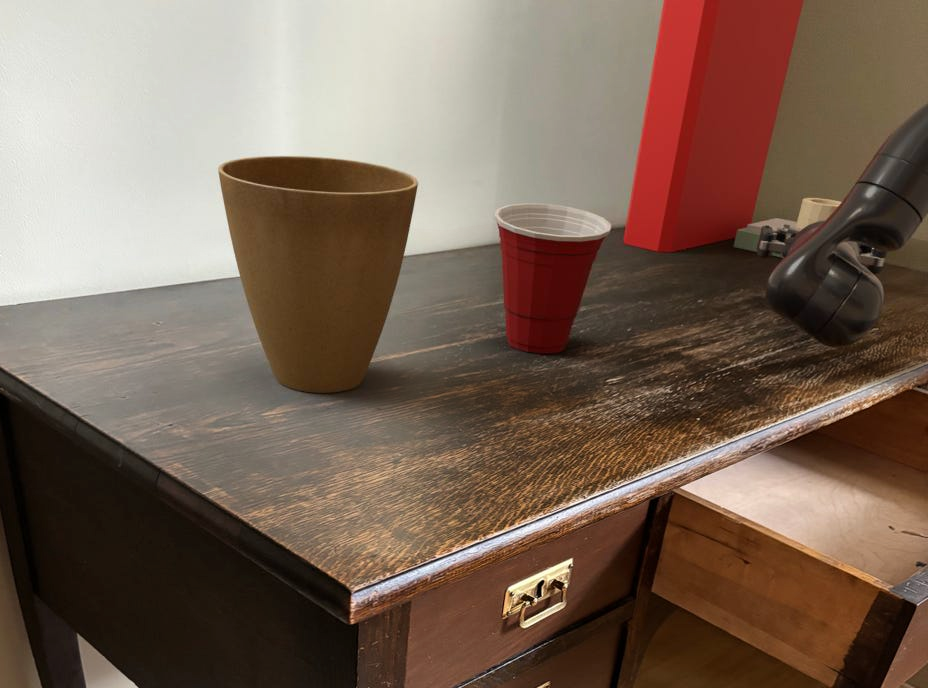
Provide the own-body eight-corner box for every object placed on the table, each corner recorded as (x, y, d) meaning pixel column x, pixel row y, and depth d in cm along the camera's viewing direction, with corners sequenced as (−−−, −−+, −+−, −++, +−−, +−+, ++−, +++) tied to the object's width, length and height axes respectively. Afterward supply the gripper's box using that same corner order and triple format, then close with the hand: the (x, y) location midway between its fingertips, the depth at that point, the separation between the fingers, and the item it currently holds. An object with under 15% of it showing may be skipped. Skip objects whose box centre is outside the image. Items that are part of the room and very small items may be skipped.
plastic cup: (484, 358, 90) (498, 220, 83) (478, 326, 99) (490, 199, 92) (599, 367, 90) (622, 231, 84) (583, 334, 99) (602, 208, 93)
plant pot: (212, 355, 84) (201, 152, 75) (374, 349, 90) (381, 158, 81) (248, 416, 73) (241, 186, 64) (431, 405, 78) (447, 191, 69)
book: (704, 225, 160) (752, -6, 143) (748, 234, 156) (804, -2, 139) (618, 242, 142) (661, -20, 124) (665, 253, 138) (717, -17, 120)
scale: (846, 254, 149) (853, 231, 147) (814, 265, 140) (821, 241, 138) (767, 238, 155) (772, 216, 153) (731, 247, 146) (737, 224, 144)
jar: (832, 284, 130) (855, 204, 124) (816, 290, 126) (840, 207, 120) (791, 275, 132) (812, 196, 127) (775, 281, 128) (796, 199, 123)
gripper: (902, 236, 101) (891, 213, 114) (764, 217, 104) (768, 197, 117) (879, 309, 105) (871, 279, 118) (746, 289, 108) (753, 262, 121)
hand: (820, 238), depth 118 cm, fingers open, 8 cm apart
